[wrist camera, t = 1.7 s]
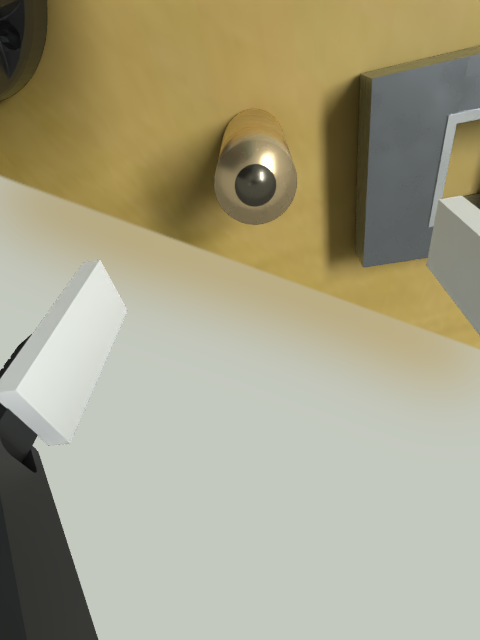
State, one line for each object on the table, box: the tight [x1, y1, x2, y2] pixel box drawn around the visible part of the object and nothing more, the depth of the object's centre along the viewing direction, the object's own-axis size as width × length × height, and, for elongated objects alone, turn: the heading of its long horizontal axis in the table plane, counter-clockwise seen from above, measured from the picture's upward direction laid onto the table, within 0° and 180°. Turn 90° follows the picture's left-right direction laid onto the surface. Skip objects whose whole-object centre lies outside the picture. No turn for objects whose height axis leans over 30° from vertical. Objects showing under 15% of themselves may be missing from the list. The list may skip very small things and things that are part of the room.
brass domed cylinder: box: [214, 109, 297, 225], centre depth 23 cm, size 5×5×9 cm
